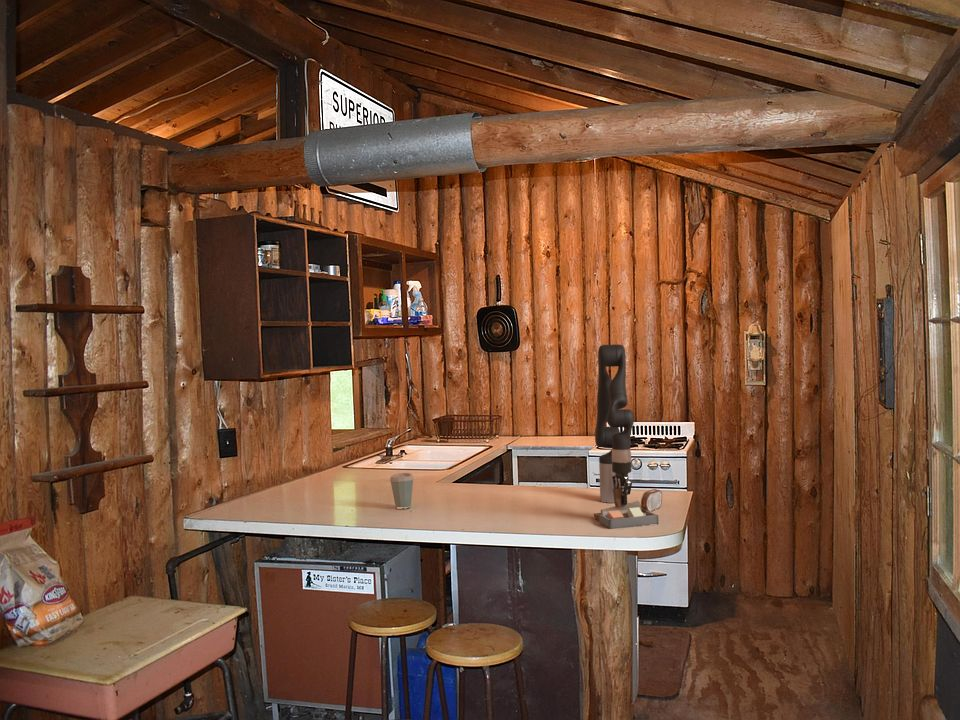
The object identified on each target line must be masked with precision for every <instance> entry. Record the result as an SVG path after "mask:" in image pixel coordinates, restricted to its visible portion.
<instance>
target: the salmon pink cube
mask: <svg viewBox="0 0 960 720" xmlns="http://www.w3.org/2000/svg"><path fill="white" fill-rule="evenodd" d="M607 518H609V519H617V518H624V516H623V515H622V514H621V512H620V511H619V510H617V511H608V517H607Z"/></svg>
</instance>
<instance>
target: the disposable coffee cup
mask: <svg viewBox="0 0 960 720" xmlns="http://www.w3.org/2000/svg"><path fill="white" fill-rule="evenodd" d="M389 481H390V485H391V490H392V495H393V500H394V505H395V508H396V507H409V506H410V507H412V497H413V496H412V495H413V484H414V483H413V482H414V476H413V474H412V473H410V472H401V473H399V472H398V473H395V474H392V475H391V476H390V478H389Z"/></svg>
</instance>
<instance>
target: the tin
mask: <svg viewBox="0 0 960 720" xmlns="http://www.w3.org/2000/svg"><path fill="white" fill-rule="evenodd" d="M662 503H663V492H662V491H661V489H656V488H653V489H649V490H646V491H645V492H643V494H642V496H641V501H640V506H641V511H642V512H646V511H649V512H650V511H651V512H653V510H654V511H656V510H655V509H657V510H659V509H660V508H661V506H662ZM658 508H659V509H658Z"/></svg>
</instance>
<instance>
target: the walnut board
mask: <svg viewBox="0 0 960 720" xmlns="http://www.w3.org/2000/svg"><path fill="white" fill-rule="evenodd" d="M600 515H601V512H595V513H594V512H593V519H594V518H595V519H594V520H597V521H598V522H600ZM622 515H623V516H624V518H628V517H629V516H628V515H627V513H624V514H622Z"/></svg>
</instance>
